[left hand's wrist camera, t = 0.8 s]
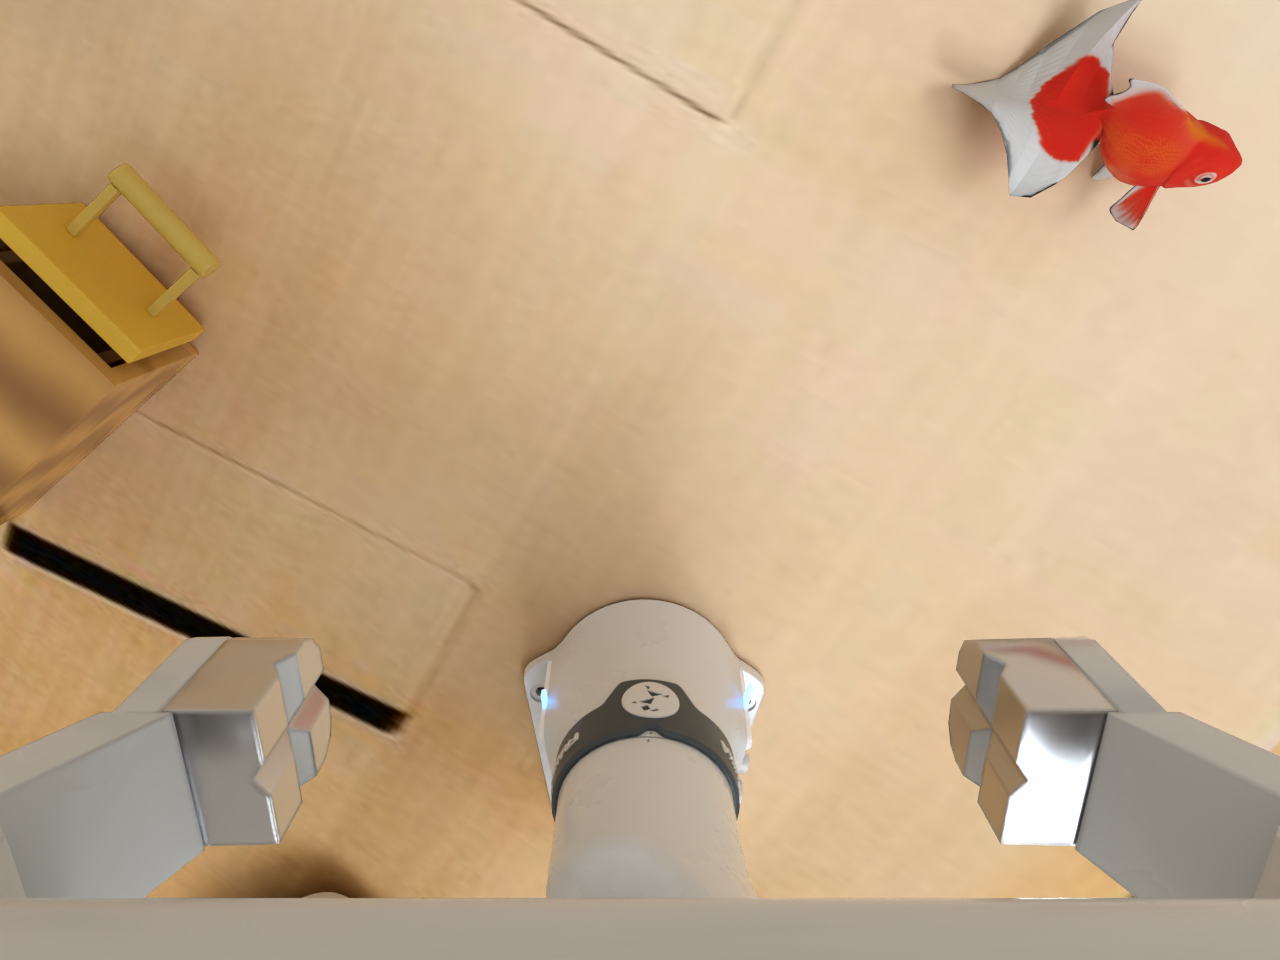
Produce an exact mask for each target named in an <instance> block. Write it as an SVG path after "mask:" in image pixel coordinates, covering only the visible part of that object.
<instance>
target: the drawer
mask: <svg viewBox="0 0 1280 960" xmlns="http://www.w3.org/2000/svg"><path fill="white" fill-rule="evenodd" d="M108 179H109V181H110V182H111V183H110V184H109V185H108V186H107V187H106V188H105V189H104V190H103V191H102V192H101V193H100V194H99V195H98V196H97V197H96V198H95V199H94V200H93V201H92V202H91V203H90V204H89V205H88V206H87V207H86V206H85V205H84V204H83V203H65V204H41V205H16V206H0V238H1V239H2V240H3V241H4V242H5V243H6V244H7V245H8V246H9V247H10V248H11V249H12V250H10V251H1V252H0V260H1V261H2V262H3V263H4V264H5V265H6V266H7V267H8V268H9V269H10V270H11V271H12V272H13V273H14V274H15V275H16V276H17V277H19V278H20V279H21V280H22V281H23V282H24V283H25V284H26V285H27V286H28V287H29V288H30V289H31V290H32V291H33V292H34V293H35V294H36V295H37V296H38V297H39V298H40V299H41V300H42V301H43V302H44V303H45V304H46V305H47V306H48V307H49V308H50V309H51V310H52V311H53V312H54V313H55V314H56V315H58V316H59V317H60V318H61V319H62V320H63V321H64V322H65V323H66V324H67V325H68V326H69V327H70V328H71V329H72V330H73V331H74V332H75V333H76V334H77V335H78V336H79V337H80V338H81V339H82V340H83V341H84V342H85V343H86V344H87V345H88V346H89V347H90V348H91V349H92V350H93V351H94V352H95V353H96V354H98V355H99V356H100V357H101V358H102V359H103V360H104V361H105V362H106V363H107V364H108V365H109V366H110V367H111V368H113V367H115V366H118V365H121V364H124V363H131V362H134V361H137V360H140V359H143V358H145V357H148V356H151V355H154V354H157V353H159V352H162V351H165V350H168V349H170V348H173V347H176V346H179V345H182V344H184V343H187V342H190V341H193V340H195V339H196V338H197V337H198V336H199V335H200V334H201V333H202V332H203V331H204V330H205V329H204V328H203V327H202V325H201V324H200V323H199V322H198V321H197V320H196V319H195V318H194V317H193V316H192V315H191V314H190V313H189V312H188V311H187V310H186V309H185V308H184V307H183V306H182V305H181V304H180V303H179V302H178V301H177V300H176V299H177V298H178V297H179V296H180V295H181V294H182V293H183V292H184V291H185V290H186V289H187V288H188V287H190V286H191V285H192V284H193V283H194V282H195V281H196V280H197V279H198V278H199V277H200V276H201V277H205V276H207V275H209V274H210V273H212V272H213V271H214V270H216V269H217V268H218V267H219V265H220V263H221V262H220V261H219V260H218V259H217V258H216V257H215V256H214V255H213V253H212V252H211V251H210V250H209V249H208V248H207V247H206V246H205V245H204V244H203V243H202V242H201V241H200V240H199V238H198V237H197V236H196V235H195V234H194V233H193V232H192V231H191V230H190V229H189V228H188V227H187V226H186V225H185V223H184V222H183V221H182V220H181V219H180V218H179V217H178V216H177V215H176V214H175V213H174V212H173V211H172V210H171V208H170V207H169V206H168V205H167V204H166V203H165V202H164V201H163V200H162V199H161V198H160V197H159V196H158V195H157V194H156V192H155V191H154V190H153V189H152V188H151V187H150V186H149V185H148V184H147V183H146V182H145V181H144V180H143V179H142V177H141V176H140V175H139V174H138V173H137V172H136V171H135V170H134V169H133V168H132V167H131V166H130V165H129V164H123V165H120V166H118V167H116V168H115V169H114V170H113V171H111V173H110V174H109V175H108ZM121 194H123V195H124V196H125V197H126V199H127V200H128V201H129V202H130V203H131V204H132V205H133V206H134V207H135V208H136V209H137V210H138V211H139V212H140V213H141V214H142V215H143V216H144V217H145V219H146V220H147V221H148V222H149V223H150V224H151V225H152V226H153V227H154V228H155V229H156V230H157V231H158V232H159V233H160V234H161V235H162V236H163V238H164V239H165V240H166V241H167V242H168V243H169V244H170V245H171V246H172V247H173V248H174V249H175V250H176V251H177V252H178V253H179V254H180V255H181V256H182V258H183V259H184V260H185V261H186V262H187V263H188V264H189V265H190V266H191V268H189V269H188V270H187V271H186V272H185V273H184V274H183V275H182V276H181V277H180V278H179V279H178V280H177V281H176V282H175V283H174V284H173V285H171V286H170V287H169V288H168V289H166V288H165V287H164V286H163V285H162V284H161V283H160V282H159V281H158V280H157V279H156V278H155V277H154V276H153V275H152V274H151V273H150V272H149V271H148V270H147V269H146V268H145V267H144V266H143V265H142V264H141V262H140V261H139V260H138V259H137V258H136V257H135V256H134V255H133V254H132V253H131V252H130V251H129V250H128V249H127V248H126V247H125V246H124V245H123V244H122V243H121V242H120V241H119V240H118V239H117V238H116V237H115V236H114V235H113V234H112V233H111V232H110V230H109V229H108V228H107V227H106V226H105V225H104V224H103V223H102V222H101V221H100V220H99V219H98V217H99V216H100V215H101V214H102V213H103V212H104V211H105V210H106V209H107V208H108V207H109V206H110V205H111V204H112V203H113V202H114V201H115V200H116V199H117V198H118V197H119V196H120V195H121Z"/></svg>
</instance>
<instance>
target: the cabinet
mask: <svg viewBox="0 0 1280 960" xmlns="http://www.w3.org/2000/svg"><path fill="white" fill-rule="evenodd" d="M10 250H12V249H11V248H10V247H9V246H8V245H7V244H6V243H5V242H4V241H3V240H2V239H1V238H0V252H1V251H10ZM198 353H199V352H198V351H197V350H196V349H195V348H194V347H193V346H192V345H191V344H190V343H189V342H187V343H184V344H182V345H179V346H176V347H173V348H170V349H168V350H165V351H162V352H159V353H157V354H154V355H151V356H148V357H145V358H143V359H140V360H137V361H134V362H131V363H124V364H121V365H118V366H115V367H113V368H111V367H110V366H109V365H108V364H107V363H106V362H105V361H104V360H103V359H102V358H101V357H100V356H99V355H98V354H96V353H95V352H94V351H93V350H92V349H91V348H90V347H89V346H88V345H87V344H86V343H85V342H84V341H83V340H82V339H81V338H80V337H79V336H78V335H77V334H76V333H75V332H74V331H73V330H72V329H71V328H70V327H69V326H68V325H67V324H66V323H65V322H64V321H63V320H62V319H61V318H60V317H59V316H58V315H56V314H55V313H54V312H53V311H52V310H51V309H50V308H49V307H48V306H47V305H46V304H45V303H44V302H43V301H42V300H41V299H40V298H39V297H38V296H37V295H36V294H35V293H34V292H33V291H32V290H31V289H30V288H29V287H28V286H27V285H26V284H25V283H24V282H23V281H22V280H21V279H20V278H19V277H17V276H16V275H15V274H14V273H13V272H12V271H11V270H10V269H9V268H8V267H7V266H6V265H5V264H4V263H3V262H2V261H1V260H0V525H1V524H3V523H5V522H7V521H8V520H10V519H12V518H14V517H15V516H18V515H20V514H21V513H23V512H25V511H26V510H28V509H29V508H30V507H31V506H32V505H33V504H34V503H35V502H36V501H37V500H38V499H40V498H41V497H42V496H43V495H44V494H45V493H46V492H47V491H48V490H49V489H51V488H52V487H53V486H54V485H55V484H56V483H57V482H58V481H59V480H60V479H62V478H63V477H64V476H65V475H66V474H67V473H68V472H69V471H70V470H71V469H72V468H74V467H75V466H76V465H77V464H78V463H79V462H80V461H81V460H82V459H83V458H85V457H86V456H87V455H88V454H89V453H90V452H91V451H92V450H93V449H94V448H96V447H97V446H98V445H99V444H100V443H101V442H102V441H103V440H104V439H105V438H106V437H108V436H109V435H110V434H111V433H112V432H113V431H114V430H115V429H116V428H117V427H119V426H120V425H121V424H122V423H123V422H124V421H125V420H126V419H127V418H128V417H130V416H131V415H132V414H133V413H134V412H135V411H136V410H137V409H138V408H139V407H140V406H142V405H143V404H144V403H145V402H146V401H147V400H148V399H149V398H150V397H151V396H153V395H154V394H155V393H156V392H157V391H158V390H159V389H160V388H161V387H162V386H164V385H165V384H166V383H167V382H168V381H169V380H170V379H171V378H172V377H173V376H175V375H176V374H177V373H178V372H179V371H180V370H181V369H182V368H183V367H184V366H185V365H187V364H188V363H189V362H190V361H191V360H192V359H193V358H194V357H195V356H196V355H198Z"/></svg>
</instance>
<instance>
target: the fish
mask: <svg viewBox="0 0 1280 960" xmlns="http://www.w3.org/2000/svg"><path fill="white" fill-rule="evenodd" d="M1140 2H1141V0H1128V1H1125V2H1123V3H1120V4H1117V5H1115V6H1112V7H1109V8H1107V9H1104V10H1101V11H1099V12H1098V13H1096V14H1095V15H1093V16H1091V17H1090V18H1088V19H1087V20H1085V21H1084V22H1082V23H1081V24H1079V25H1078V26H1076V27H1075V28H1073V29H1072V30H1070V31H1068V32H1067V33H1065V34H1064V35H1062V36H1061V37H1059V38H1058V39H1056V40H1055V41H1053V42H1052V43H1051V44H1049V45H1048V46H1046V47H1045V48H1044V49H1042V50H1041V51H1040V52H1038V53H1037V54H1035V55H1034V56H1033V57H1031V58H1030V59H1029V60H1027V61H1026V62H1024V63H1023V64H1021V65H1020V66H1018V67H1017V68H1015V69H1013V70H1012V71H1010V72H1009V73H1007V74H1006V75H1004V76H1003V77H1001V78H999V79H994V80H989V81H984V82H979V83H974V84H969V85H966V84H952V88H954V89H956V90H958V91H960V92H962V93H964V94H966V95H968V96H969V97H971V98H972V99H973V100H975V101H976V102H978V103H979V104H980V105H982V106H983V107H984V108H986V109H987V110H988V111H990V112H991V113H992V115H993V117H994V119H995V121H996V123H997V124H998V126H999V128H1000V130H1001V133H1002V137H1003V141H1004V145H1005V149H1006V153H1007V163H1008V177H1009V196H1019V197H1032V196H1034V195H1036V194H1038V193H1040V192H1042V191H1044V190H1045V189H1047V188H1049V187H1051V186H1053V185H1055V184H1056V183H1057V182H1059V181H1060V180H1061V179H1063V178H1064V177H1065V176H1067V175H1068V174H1069V173H1070V172H1071V171H1072V170H1073V169H1074V168H1075V167H1076V166H1077V165H1078V164H1079V163H1080V162H1081V161H1082V160H1083V159H1084V158H1085V157H1086V156H1087V155H1088V154H1089V153H1090V152H1091V151H1092V150H1093V148H1094V147H1095V146H1096V145H1097V144H1100V145H1101V154H1102V158H1103V161H1104V165H1103V166H1102V167H1101V168H1100V170H1099V171H1098V172H1097V173H1096V174H1095V175H1094V176H1093V179H1094V180H1101V179H1106V178H1110V177H1113V176H1114V177H1115V178H1116V179H1118V180H1119V181H1121V182H1124V183H1126V184H1130V185H1134V187H1133V188H1132V189H1131V190H1130V191H1128V192H1127V193H1126V194H1125V195H1124V196H1123V197H1122V198H1121V199H1120V200H1119V201H1117V202H1116V203H1115V204H1114V205H1112V206H1111V207H1110V213H1111V214H1112V216H1113V217H1114V219H1115V220H1116V221H1117V222H1119V223H1121V224H1123V225H1124V226H1126V227H1128V228H1130V229H1132V230H1134V229H1135V228H1136V227H1137V226H1138V224H1139V223H1140V221H1141V219H1142V218H1143V216H1144V214H1145V213H1146V211H1147V209H1148V207H1149V205H1150V203H1151V201H1152V199H1153V198H1154V196H1155V194H1156V192H1157V190H1158V189H1159V187H1160V186H1163V187H1164V188H1174V187H1196V186H1202V185H1207V184H1211V183H1214V182H1217V181H1219V180H1221V179H1223V178H1225V177H1227V176H1228V175H1230V174H1231V173H1233V172H1234V171H1235V170H1236V169H1237V168H1238V167H1239V166H1240V165H1241V164H1242V158H1241V155H1240V153H1239V151H1238V150H1237V148H1236V146H1235V144H1234V142H1233V140H1232V138H1231V136H1230V134H1229V133H1228V132H1226V131H1225V130H1223V129H1220V128H1219V127H1217V126H1215V125H1213V124H1210V123H1208V122H1206V121H1202V120H1197V119H1196V118H1195V117H1194V116H1192V115H1191V114H1190V113H1189V112H1187V111H1186V110H1185V109H1184V108H1183V107H1182V106H1181V105H1180V103H1179V102H1178V101H1177V100H1176V99H1175V97H1174V96H1173V95H1172V94H1171V93H1170V92H1169V90H1168V89H1167V88H1165V87H1163V86H1160V85H1158V84H1155V83H1153V82H1148V81H1142V80H1137V79H1129V83H1130V87H1129V89H1127V90H1126V91H1124V92H1121V93H1118V94H1115V95H1113V87H1112V79H1111V70H1112V62H1113V43H1114V41H1115V40H1116V38H1117V37H1118V35H1119V33H1120V32H1121V30H1122V29H1123V27H1124V25H1125V24H1126V22H1127V21H1128V19H1129V17H1130V16H1131V14H1132V13H1133V11H1134V10H1135V9H1136V7H1137V6H1138V4H1139V3H1140ZM1111 105H1112V106H1111Z"/></svg>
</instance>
